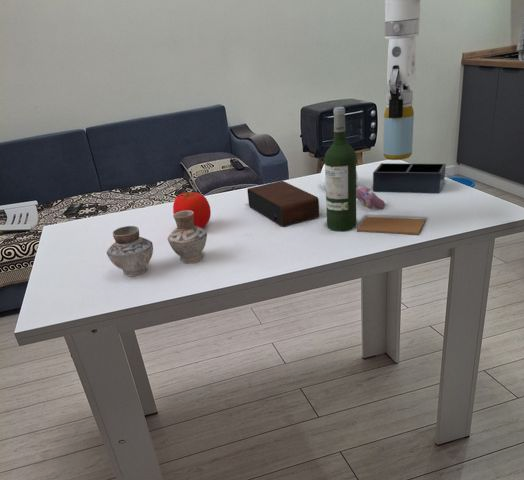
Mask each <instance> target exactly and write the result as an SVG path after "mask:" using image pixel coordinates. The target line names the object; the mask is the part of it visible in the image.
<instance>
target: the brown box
mask: <svg viewBox="0 0 524 480" xmlns="http://www.w3.org/2000/svg"><path fill="white" fill-rule="evenodd" d="M246 191H247V201H248V207H249V208H251V209H252V210H254V211H255V212H257V213H259V214H260V215H262V216H263V217H265V218H267V219H268V220H270V221H272V222H273V223H274V224H277V225H278V226H279V227H281V228H283V227H286V226H289V225H293V224H297V223H302V222H305V221H309V220H314V219H316V218H320V199H319V197H318V196H317V195H314V194H312V193H309V192H308V191H306V190H304V189H301V188H300V187H297V186H295V185H293V184H290V183H288V182H286V181H284V180H279V181H274V182H270V183H266V184H261V185H256V186H252V187H249V188H247V190H246Z"/></svg>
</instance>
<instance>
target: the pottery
mask: <svg viewBox="0 0 524 480" xmlns="http://www.w3.org/2000/svg"><path fill="white" fill-rule="evenodd" d="M193 216H194V212H193V211H189V210H185V211H180V212H177V213H175V214H173V216H172V217H173V219H174V221H175V224H176V227H177V228H175V229H174V230H173V231H172V232H171V233H170V234H169V235H168V237H167V241H168V244H169V245H170V248H171V250H172V251H173V252H174V253H175V254H176V255H178V256H179V261H180V262H181V263H184V264H193V263H197V262H199V261H201V260H202V259H203V255H202V252H203V251H204V249H205V246H206V243H207V239H208V238H207V237H208V231H206V229H204V228H200V227H198V226H195V225H194V220H193ZM112 236H113V240H114V241H115V242H113V243H112V244H111V246H109V247H108V249H107V250H106V255H107V258H108V259H109V261H110V262H111V264H113V266H115V267H116V268H118V269H120V270H122V273H123V274H124V275H125V276H127V277H135V276H139V275H142V274H144V273H145V272H146V271H147V270H148V268H147V265H149V263H150V261H151V260H152V257H153V254H154V245H153V242H152V241H151V240H150V239H147V238H145V237H141V236H140V229H139V227H138V226H136V225H127V226H121V227H118V228H116V229H114V230H113V231H112Z"/></svg>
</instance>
